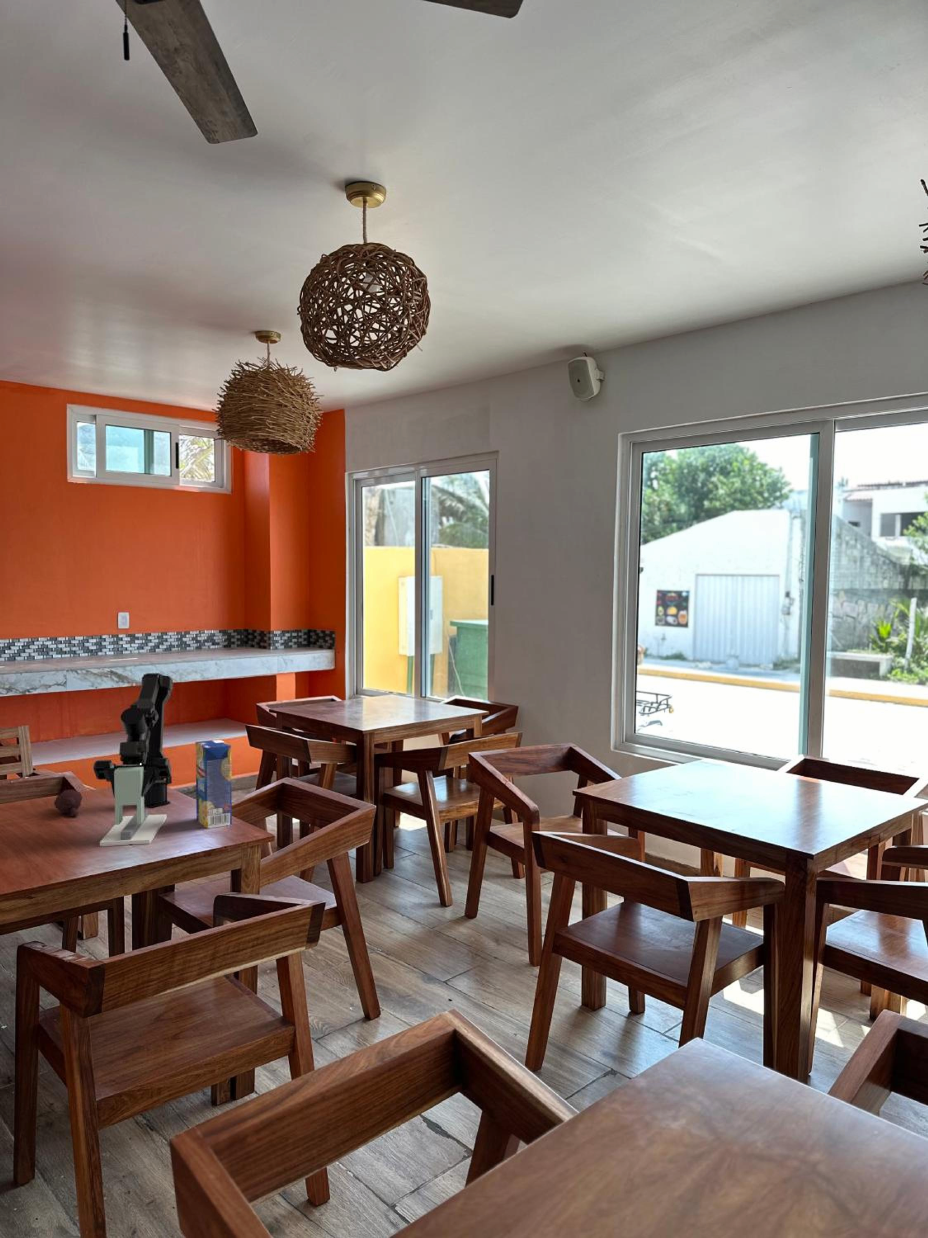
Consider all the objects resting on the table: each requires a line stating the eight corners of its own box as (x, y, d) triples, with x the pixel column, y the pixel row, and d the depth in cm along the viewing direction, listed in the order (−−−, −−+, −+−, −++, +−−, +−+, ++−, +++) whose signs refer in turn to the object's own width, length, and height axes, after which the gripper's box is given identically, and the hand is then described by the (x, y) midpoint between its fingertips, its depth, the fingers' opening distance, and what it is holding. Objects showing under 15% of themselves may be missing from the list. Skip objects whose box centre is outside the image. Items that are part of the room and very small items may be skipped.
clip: (118, 820, 217) (117, 767, 216) (144, 819, 218) (143, 766, 217) (115, 825, 213) (114, 771, 212) (141, 823, 214) (140, 770, 213)
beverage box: (220, 815, 237) (219, 739, 236) (232, 825, 227) (231, 745, 226) (196, 819, 233) (195, 742, 232) (206, 828, 224) (205, 748, 223)
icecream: (47, 788, 243) (55, 803, 231) (74, 778, 247) (83, 793, 235) (54, 809, 245) (62, 825, 233) (80, 799, 249) (90, 815, 237)
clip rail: (121, 820, 232) (121, 809, 232) (166, 817, 234) (166, 807, 234) (99, 846, 209) (99, 834, 208) (149, 843, 211) (149, 832, 211)
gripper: (94, 730, 217) (83, 781, 206) (168, 728, 220) (161, 778, 210) (102, 753, 225) (92, 804, 214) (174, 751, 228) (167, 801, 218)
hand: (128, 796), depth 214 cm, fingers closed on clip, 6 cm apart
